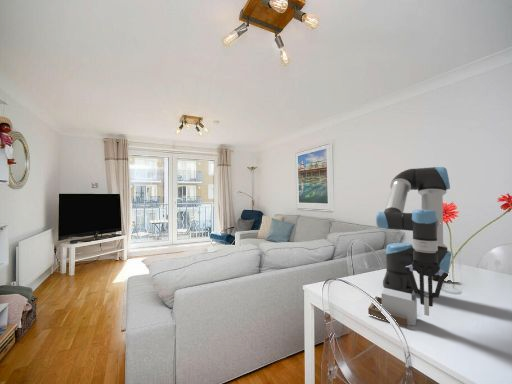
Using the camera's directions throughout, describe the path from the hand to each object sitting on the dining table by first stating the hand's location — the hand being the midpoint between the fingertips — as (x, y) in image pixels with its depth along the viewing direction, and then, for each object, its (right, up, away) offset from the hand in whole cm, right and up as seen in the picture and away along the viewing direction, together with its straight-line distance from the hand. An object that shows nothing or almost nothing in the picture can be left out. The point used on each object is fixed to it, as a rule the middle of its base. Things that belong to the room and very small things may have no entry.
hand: (426, 313), depth 85 cm
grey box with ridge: (-7, -4, +5) cm, 10 cm away
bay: (-9, -4, +7) cm, 12 cm away
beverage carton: (+44, -5, +51) cm, 68 cm away
